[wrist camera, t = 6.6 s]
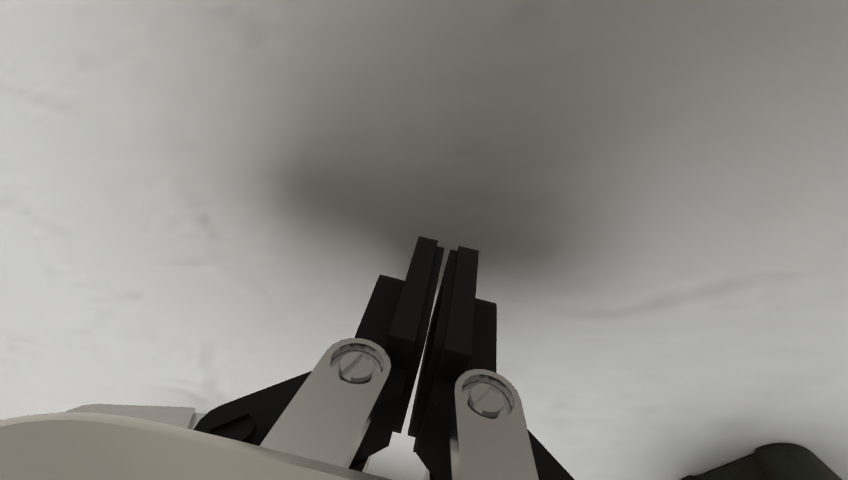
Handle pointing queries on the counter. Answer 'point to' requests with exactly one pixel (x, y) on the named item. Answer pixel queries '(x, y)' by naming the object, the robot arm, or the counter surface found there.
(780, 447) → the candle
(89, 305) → the counter surface
